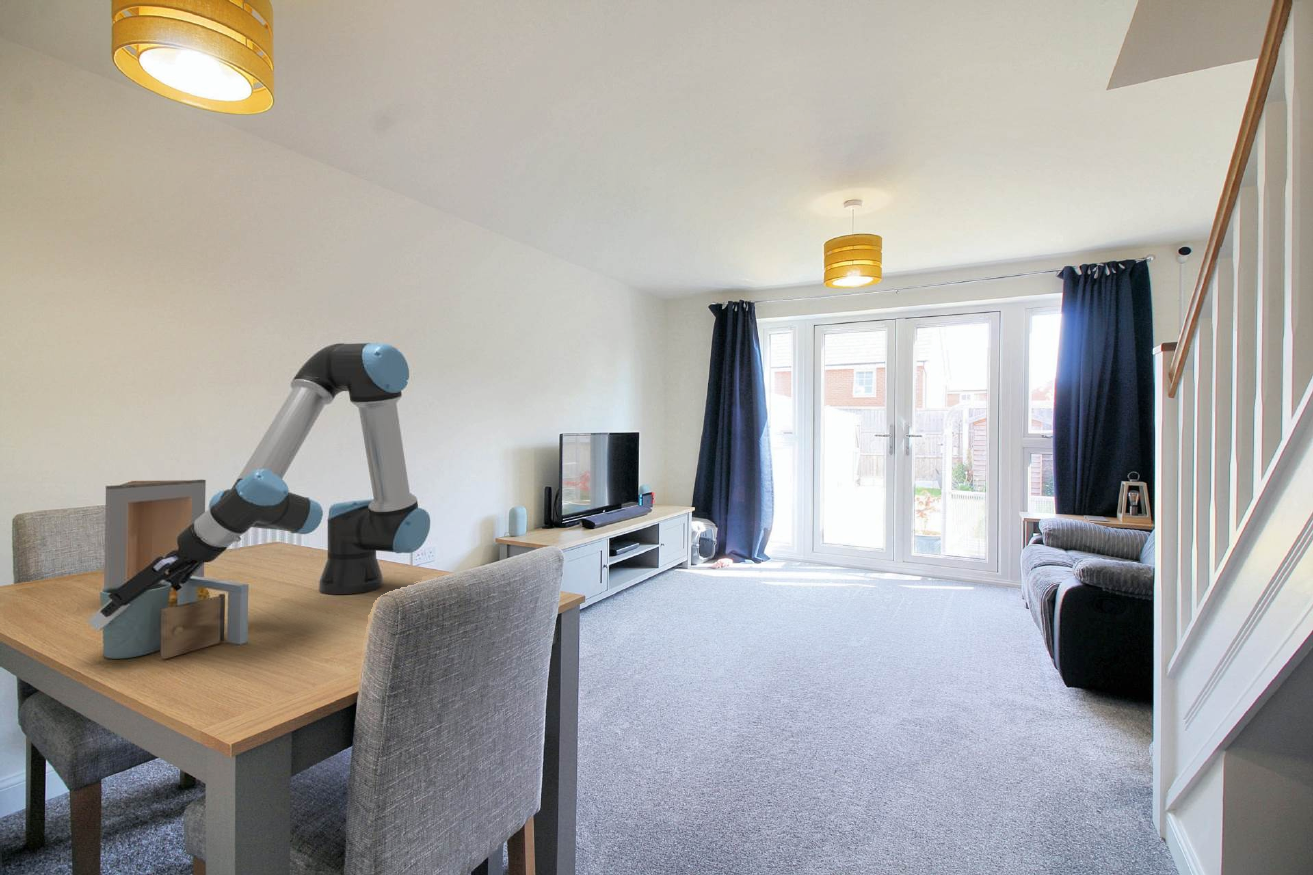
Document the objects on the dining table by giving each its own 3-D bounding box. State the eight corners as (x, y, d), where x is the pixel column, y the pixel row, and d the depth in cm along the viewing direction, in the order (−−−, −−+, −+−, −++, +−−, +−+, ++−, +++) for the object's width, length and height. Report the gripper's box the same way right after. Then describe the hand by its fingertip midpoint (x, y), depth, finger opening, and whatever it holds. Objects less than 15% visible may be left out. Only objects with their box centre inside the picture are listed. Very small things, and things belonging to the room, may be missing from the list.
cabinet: (108, 608, 136) (110, 486, 136) (81, 603, 139) (83, 483, 139) (203, 586, 156) (205, 479, 155) (178, 582, 159) (180, 477, 159)
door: (222, 640, 118) (223, 593, 118) (229, 641, 117) (230, 594, 117) (160, 658, 109) (161, 607, 109) (167, 660, 108) (168, 609, 108)
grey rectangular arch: (247, 641, 119) (248, 584, 118) (239, 644, 117) (241, 586, 117) (184, 629, 124) (185, 574, 124) (176, 631, 123) (177, 576, 123)
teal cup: (87, 662, 106) (89, 594, 106) (112, 644, 115) (114, 582, 115) (158, 655, 110) (160, 590, 110) (177, 638, 119) (178, 578, 119)
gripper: (185, 560, 103) (81, 651, 101) (258, 539, 126) (174, 613, 124) (153, 529, 103) (48, 620, 101) (232, 513, 125) (147, 587, 123)
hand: (117, 616), depth 112 cm, fingers closed on teal cup, 10 cm apart
